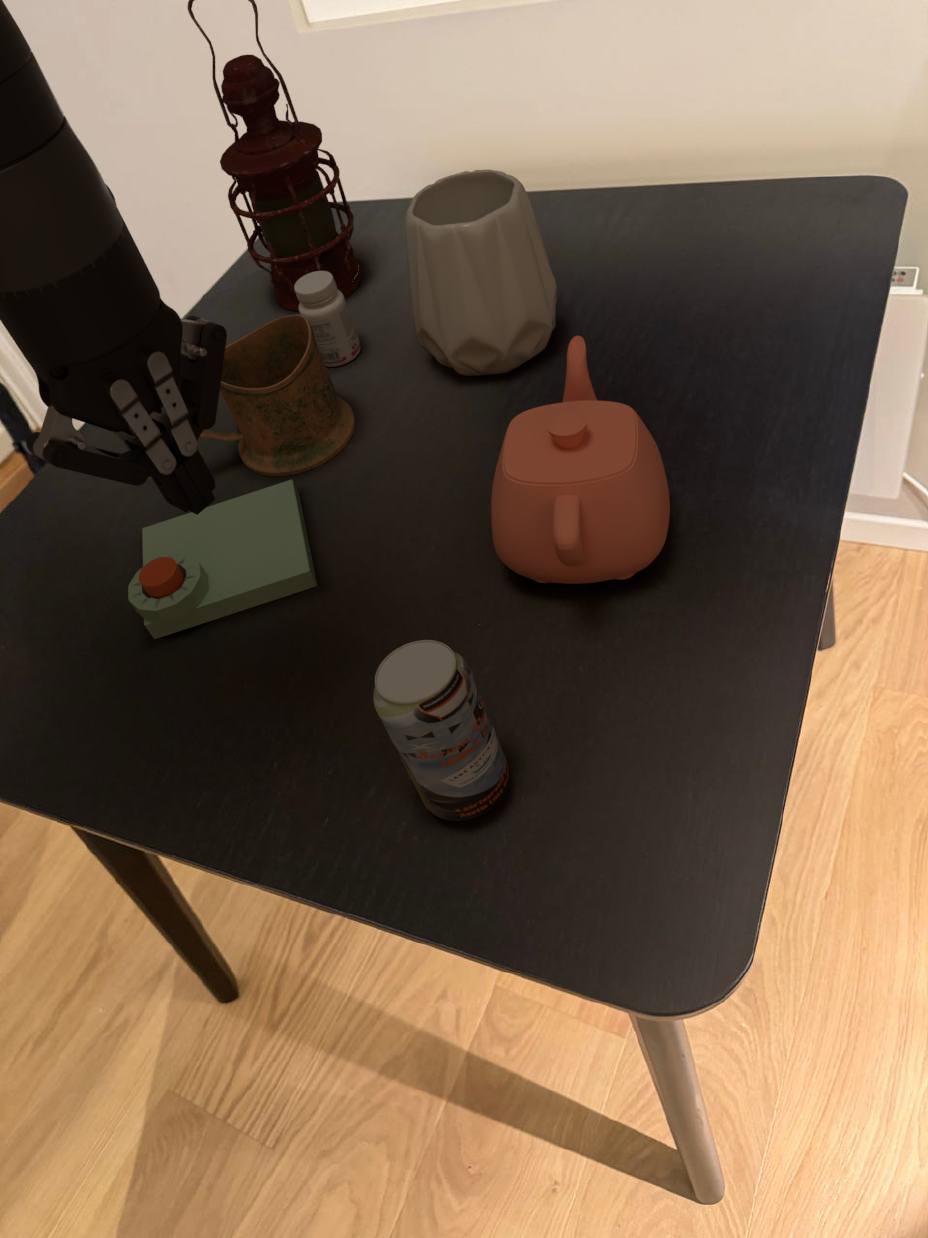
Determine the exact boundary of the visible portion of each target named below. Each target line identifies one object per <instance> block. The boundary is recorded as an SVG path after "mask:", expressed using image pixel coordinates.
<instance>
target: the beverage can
mask: <svg viewBox="0 0 928 1238" xmlns="http://www.w3.org/2000/svg"><path fill="white" fill-rule="evenodd" d="M372 700H373V705H374V708H375V711H376V713H377V715H378V717H379V719H380V721H381V722H382V725H383V727H384V729H385V731H386V732H387V734H388V736H389V738H390V740H391V743H392V745H393V746H394V748H395V750H396V752H397V754H398V756H399V758H400V760H401V762H402V764H403V766H404V768H405V770H406V772H407V774H408V776H409V777H410V779H411V782H412V783H413V785H414V788H415V789H416V792H417V793H418V795H419V797H420V800H421V801H422V803H423V805H424V807H425V808H426V809H427V810H428V811H429V812H430V813H431V814H432V815H434V816H435V817H437V818H439V819H442V820H446V821H453V822H459V821H466V820H467V821H468V820H471V819H474V818H477V817H479V816H481V815H483V814H485V813H487V812H489V811H490V810H491V809H493V808H494V807H495V806H496V805H497V804H498V803H499V802H500V801H501V800H502V798H503V797H504V796H505V793H506V791H507V790H508V787H509V784H510V778H511V774H510V773H511V772H510V766H509V763H508V761H507V758H506V756H505V754H504V751H503V748H502V746H501V743H500V741H499V738H498V736H497V732H496V730H495V728H494V725H493V722H492V720H491V717H490V715H489V713H488V710H487V707H486V704H485V702H484V700H483V697H482V695H481V692H480V690H479V687H478V684H477V682H476V679H475V676H474V675H473V671H472V669H471V666H470V665H469V664H468V662H467V660H466V659H465V658H464V657H463V656H462V655H460V654H459V653H458V652H456V651H454V650H452V648H450V647H449V646H448V645H447V644H445V643H443V642H442V641H438V640H432V639H421V640H416V641H411V642H409V643H406V644H404V645H402V646H399V647H397V648H396V649H394V650H393V651H392V652H390V653H389V654H388V655H387V656H386V657H385V658H384V659H383V660H382V661H381V663H380V664H379V666H378V667H377V669H376V672H375V675H374V688H373V699H372Z"/></svg>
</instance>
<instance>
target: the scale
mask: <svg viewBox="0 0 928 1238" xmlns="http://www.w3.org/2000/svg"><path fill="white" fill-rule="evenodd" d="M141 533H142V535H141V536H142V567H141V568H140V569H138V570H137V571H136V572H135V574H134V576H133V577H132V579H131V580H130V582H129V584H128V587H127V600H128V602H129V603H130V604H131V606H132V608H133V609H134V610H135V612H136V613H137V614H138V615H139V616H141V617H142V619H143V626H144V627H145V628H146V630H147V631H148V632H149V634H150V635H151V637H152V638H153V640H157V639H160V638H162V637H163V638H164V637H166V636H169V635H171V634H175V633H178V632H181V631H184V630H187V629H191V628H193V627H197V626H200V625H203V624H205V623H209V622H212V621H215V620H218V619H221V618H224V617H227V616H231V615H234V614H236V613H239V612H242V611H246V610H248V609H251V608H255V607H256V606H257V607H258V606H261V605H263V604H267V603H270V602H274V601H276V600H279V599H282V598H285V597H288V596H292V595H294V594H297V593H301V592H304V591H306V590H310V589H312V588H315V587H318V582H317V578H316V577H317V576H316V573H315V572H316V571H315V567H314V562H313V557H312V552H311V547H310V542H309V536H308V531H307V527H306V521H305V516H304V510H303V506H302V501H301V496H300V493H299V491H298V488H297V486H296V484H295V482H294V480H293V479H288V480H286V481H283V482H279V483H276V484H274V485H270V486H267V487H264V488H261V489H257V490H255V491H252V492H249V493H246V494H243V495H239V496H237V497H233V498H230V499H228V500H224V501H222V502H217V503H215V504H212V505H208V506H207V507H206V508H205V509H204V510H203V511H201V512H200V513H199V514H198V515H196V514H194V513H192V512H191V511H189V512H187V513H184V514H181V515H178V516H175V517H173V518H169V519H165V520H163V521H160V522H157V523H154V524H151V525H148V526H144V527H142V529H141ZM159 557H170V558H172V559H174V560H175V561H176V563H177V565H178V566H179V568H180V569H181V571H182V572H183V574H184V583H183V585H182V587H181V588H180V589H178V590H177V591H176V592H174V593H173V594H172V595H170V596H167V597H164V598H161V599H156V598H152V597H151V596H149V595H148V593H147V592H146V590H145V589H144V588H143V586H142V585H141V583H140V582H139V573H140V571H141V569H142V568H143V567H144V566H145V565H146V564H147V563H149V562H150V561H152V560H154V559H156V558H159Z"/></svg>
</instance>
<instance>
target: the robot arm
mask: <svg viewBox="0 0 928 1238" xmlns="http://www.w3.org/2000/svg"><path fill="white" fill-rule="evenodd" d="M0 322H1V324H2V325H3V326H4V328H5V330H6V331H7V333H8V334H9V335H10V337H11V339H12V340H13V342H14V343H15V345H16V346H17V348H18V349H19V351H20V352H21V354H22V355H23V357H24V358H25V360H26V361H27V363H28V364H29V365H30V367H31V368H32V369H33V371H34V373H35V377H36V379H37V387H38V395H39V397H40V399H41V401H42V403H43V404H44V405H45V406H47V409H46V412H45V416H44V419H43V422H42V425H41V428H40V431H34V432H33V433H31V434H30V435H28V436H27V439H26V441H25V442H26V443H25V445H26V449H27V451H28V452H29V453H31V454H33V455H34V456H36V457H38V458H39V459H41V460H43V461H45V462H47V463H49V464H50V465H52V466H54V467H56V468H57V469H63V470H67V471H72V472H76V473H79V474H84V475H88V476H91V477H92V476H93V477H97V478H101V479H105V480H109V481H113V482H117V483H123V484H125V485H126V484H127V485H131V486H135V487H138V486H142V485H144V484H145V483H146V482H147V480H148V479H149V477H151V479H152V480H153V482H154V484H155V486H156V487H157V489H158V491H159V492H160V494H161V495H162V498H163V499H164V500H165V502H166V503H167V504H169V505H171V506H172V507H175V508H176V509H178V510H180V511H181V512H184V514H187V513H189V512H192V513H194V514H196V515H198V514H199V513H200V512H201V511H203V510H204V509H205V508H206V507H209V506H211V504H212V503H213V502H214V501H216V497H215V495H214V493H213V491H214V490H215V489H216V479H215V478H214V476H213V474H212V473H211V470H210V469H209V467H208V466H207V463H206V462H205V460H204V457H203V456H202V454H201V453H200V450H199V442H198V441H199V439H200V438H199V436H200V435H201V433H202V432H203V430H210V429H211V428H213V427H214V425H215V424H216V421H217V413H218V407H219V397H220V393H221V391H220V384H221V377H222V369H223V362H224V354H225V347H226V346H227V338H228V332H227V329H226V328H225V327H224V326H223V325H221V324H218V323H215V322H213V321H210V320H207V319H204V318H201V317H199V316H196V315H190V316H188V317H187V318H181V316H180V315H179V314H178V312H177V311H176V310H175V309H174V308H172V307H171V306H169V305H168V304H166V303H165V302H164V301H163V299H162V297H161V293H160V289H159V287H158V285H157V283H156V282H155V280H154V277H153V275H152V274H151V271H150V270H149V267H148V266H147V264H146V262H145V259H144V258H143V256H142V253H141V251H140V250H139V248H138V246H137V244H136V242H135V240H134V237H133V236H132V234H131V232H130V229H129V228H128V226H127V224H126V222H125V220H124V218H123V216H122V214H121V212H120V210H119V208H118V205H117V201H116V198H115V195H114V193H113V192H112V190H111V188H110V187H109V185H107V184H106V182H105V181H104V178H103V176H102V174H101V172H100V171H99V168H98V167H97V165H96V163H95V161H94V159H93V158H92V157H91V155H90V153H89V152H88V150H87V149H86V147H85V146H84V144H83V143H82V141H81V140H80V138H79V137H78V135H77V134H76V132H75V131H74V129H73V127H72V126H71V124H70V123H69V120H68V119H67V117H66V115H65V114H64V112H63V109H62V107H61V106H60V103H59V101H58V99H57V98H56V95H55V94H54V91H53V89H52V88H51V86H50V84H49V82H48V80H47V78H46V76H45V73H44V72H43V70H42V68H41V66H40V64H39V62H38V60H37V58H36V56H35V54H34V53H33V51H32V48H31V47H30V45H29V42H28V41H27V39H26V37H25V36H24V34H23V32H22V30H21V28H20V27H19V25H18V23H17V21H16V20H15V19H14V17H13V15H12V14H11V12H10V10H9V8H8V7H7V5H6V3H5V2H4V0H0ZM73 420H76V421H79V422H82V423H85V424H88V425H91V426H94V427H97V428H100V429H103V430H106V431H108V432H113V433H114V435H115V436H117V437H118V438H119V439H120V440H121V441H122V443H123V444H124V446H125V447H126V448H127V449H128V450H127V451H124V452H117V451H113V450H109V449H106V448H102V447H98V446H95V445H91V444H87V440H86V439H87V438H86V435H84V433H83V432H82V431H80V430H78V429H76V428H75V426H74V424H73Z"/></svg>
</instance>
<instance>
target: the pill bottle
mask: <svg viewBox="0 0 928 1238" xmlns="http://www.w3.org/2000/svg"><path fill="white" fill-rule="evenodd" d="M294 290H295V293H296V296H297V298H298V300H299V302H300V303H299V311H298V312H299V315H303V316H304V317H305V318H306V319H307V320H308V322H309V324H310V326H311V327H312V330H313V332H314V338H315V340H316V342H317V345H318V348H319V351H320V353H321V356H322V358H323V361H324V363H325V365H326V367H329V368H334V367H335V368H336V367H340V366H343V365H346V364H347V363H350V362H351V361H353V360H354V359H355V358H357V357H358V355H359V354H360V352H361V342H360V339H359V336H358V333H357V330H356V327H355V324H354V321H353V318H352V316H351V313H350V309H349V307H348V303H347V301H346V298H344V296H343V294H342V293H341V292H340V291H339V290H338V289H337V286H336V283H335V281H334V278H333V276H332V274H331V273H329V272H327V271H315V272H311V273H309V274H306V275H304V276H303V277H301V278H300V279H299V280H298V281H297V282H296V283H295V285H294Z"/></svg>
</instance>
